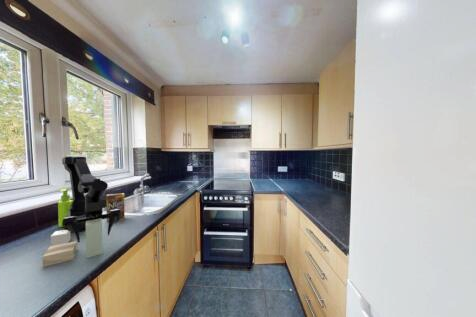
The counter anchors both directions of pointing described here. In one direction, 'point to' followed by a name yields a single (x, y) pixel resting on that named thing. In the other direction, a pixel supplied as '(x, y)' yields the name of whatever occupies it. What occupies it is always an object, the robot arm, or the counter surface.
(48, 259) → the oak base block
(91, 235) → the sage pillar
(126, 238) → the counter surface
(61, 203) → the soap dispenser
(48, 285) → the counter surface
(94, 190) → the robot arm
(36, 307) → the counter surface
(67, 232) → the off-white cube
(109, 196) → the candy box
